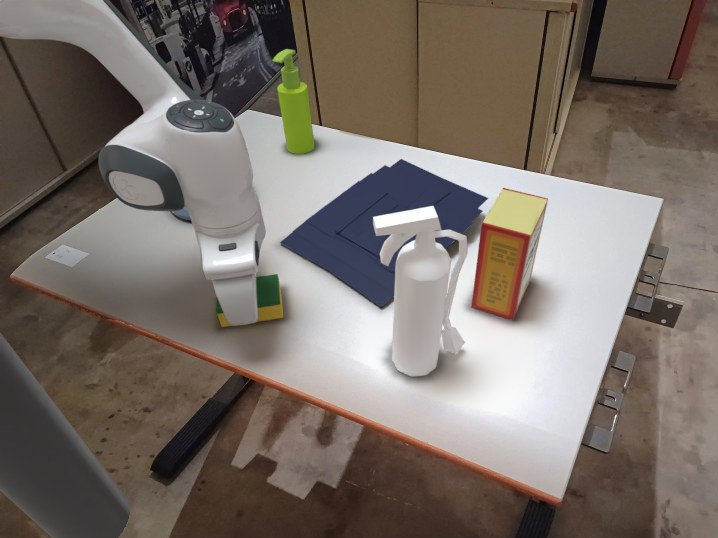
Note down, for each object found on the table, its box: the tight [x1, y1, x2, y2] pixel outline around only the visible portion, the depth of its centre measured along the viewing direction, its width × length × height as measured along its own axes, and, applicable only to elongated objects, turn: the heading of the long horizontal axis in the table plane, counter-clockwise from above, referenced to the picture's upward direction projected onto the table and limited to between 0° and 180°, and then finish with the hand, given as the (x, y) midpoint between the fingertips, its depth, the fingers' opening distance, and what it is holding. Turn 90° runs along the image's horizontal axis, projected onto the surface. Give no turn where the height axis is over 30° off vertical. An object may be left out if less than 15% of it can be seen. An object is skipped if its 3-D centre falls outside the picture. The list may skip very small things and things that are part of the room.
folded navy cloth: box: [279, 158, 489, 308], centre depth 96 cm, size 24×30×4 cm
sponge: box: [215, 273, 284, 328], centre depth 82 cm, size 9×6×4 cm, turn 102°
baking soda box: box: [470, 187, 549, 321], centre depth 80 cm, size 10×6×16 cm
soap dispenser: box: [271, 48, 316, 155], centre depth 111 cm, size 6×7×20 cm
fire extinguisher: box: [373, 206, 468, 377], centre depth 68 cm, size 7×12×25 cm, turn 99°
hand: (250, 300), depth 82 cm, fingers closed on sponge, 6 cm apart
